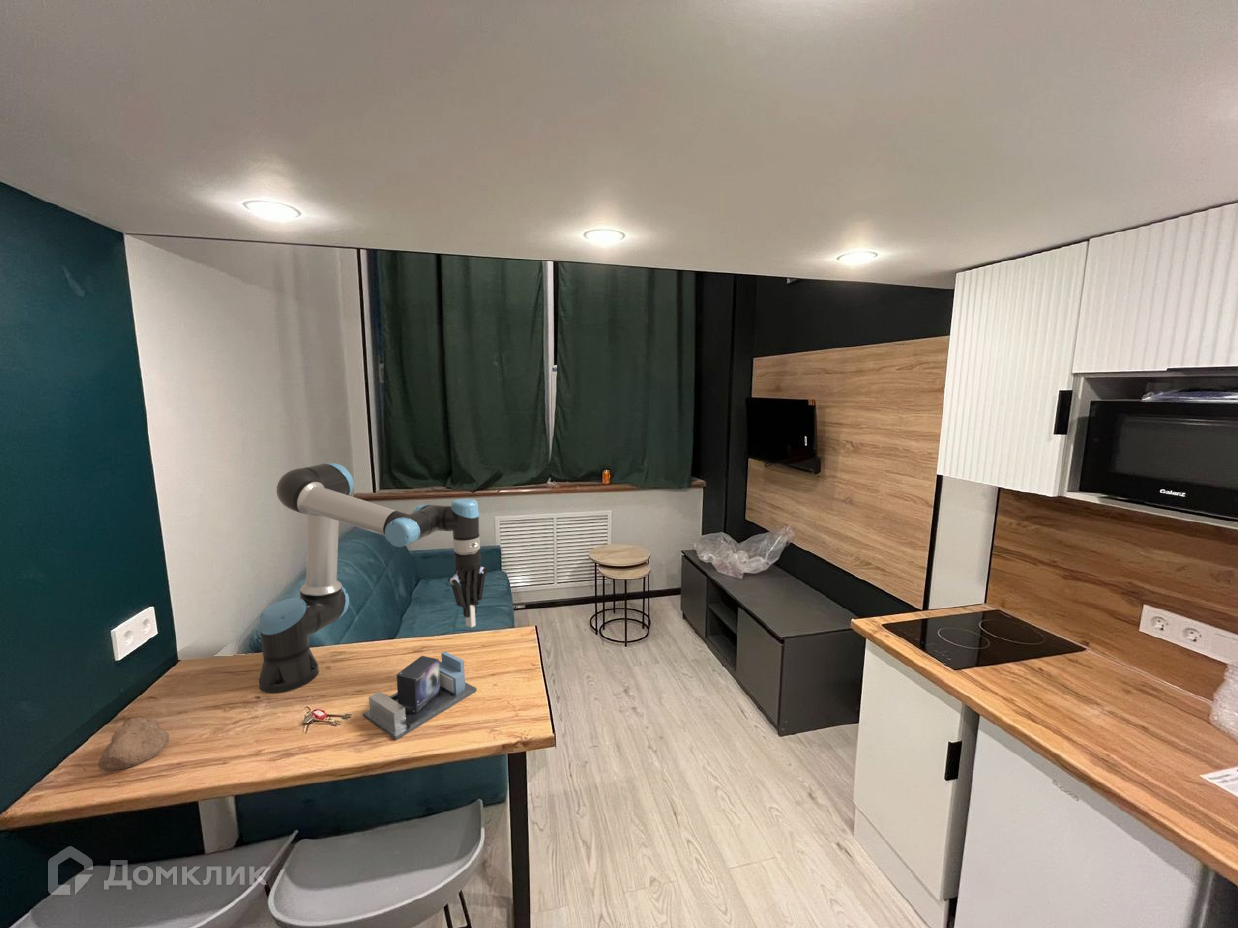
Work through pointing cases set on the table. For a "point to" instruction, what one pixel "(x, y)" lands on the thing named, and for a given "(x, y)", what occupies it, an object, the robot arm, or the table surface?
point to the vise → (400, 722)
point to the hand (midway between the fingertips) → (470, 625)
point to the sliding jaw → (452, 673)
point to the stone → (133, 744)
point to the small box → (418, 683)
